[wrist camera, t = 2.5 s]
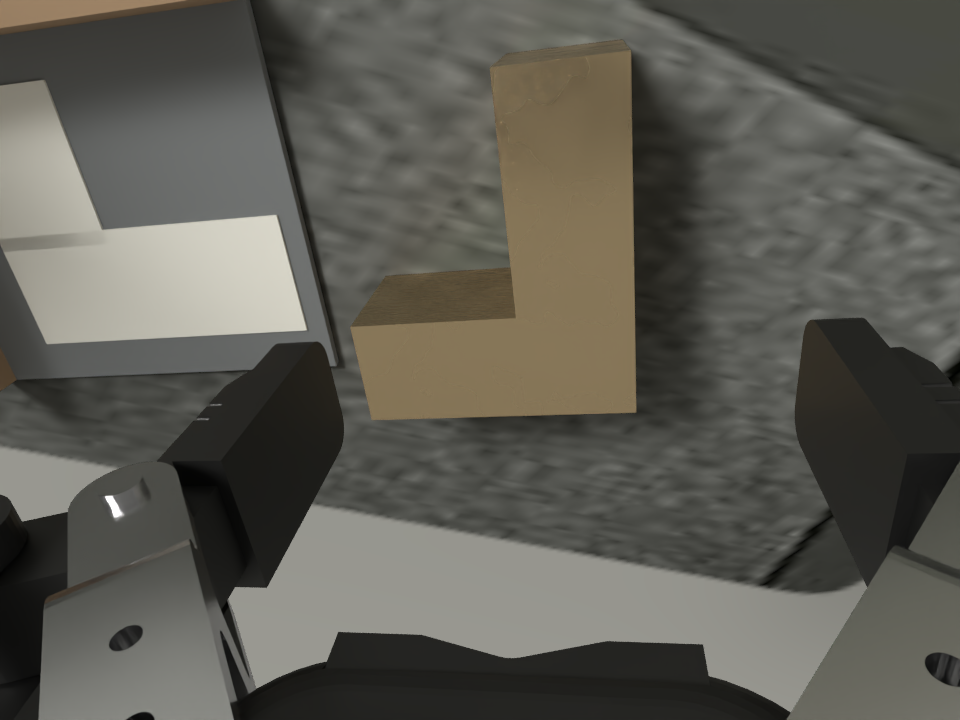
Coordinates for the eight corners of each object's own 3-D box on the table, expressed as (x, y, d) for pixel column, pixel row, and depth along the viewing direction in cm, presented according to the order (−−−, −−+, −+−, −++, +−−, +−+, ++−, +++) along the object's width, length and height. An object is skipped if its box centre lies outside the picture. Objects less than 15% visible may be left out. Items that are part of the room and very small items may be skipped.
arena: (-179, 26, 27) (-307, 32, 23) (240, -40, 24) (173, -46, 20) (2, 376, 34) (-72, 425, 30) (338, 361, 31) (304, 414, 27)
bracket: (628, 348, 29) (636, 412, 24) (402, 358, 30) (371, 419, 26) (621, 39, 23) (631, 50, 19) (346, 73, 25) (295, 90, 21)
